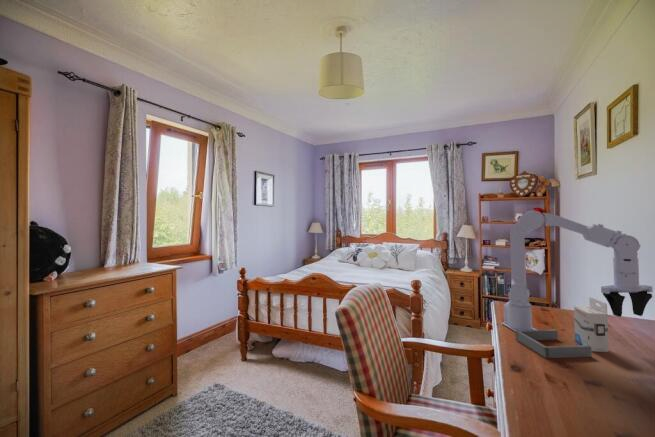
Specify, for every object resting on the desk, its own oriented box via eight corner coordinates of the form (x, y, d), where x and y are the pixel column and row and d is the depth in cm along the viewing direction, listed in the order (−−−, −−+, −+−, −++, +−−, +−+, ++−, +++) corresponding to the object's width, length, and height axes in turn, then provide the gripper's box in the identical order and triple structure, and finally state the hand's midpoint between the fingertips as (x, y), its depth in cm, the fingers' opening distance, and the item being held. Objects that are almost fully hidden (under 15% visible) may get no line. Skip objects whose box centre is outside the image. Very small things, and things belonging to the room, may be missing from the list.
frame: (515, 339, 103) (515, 330, 103) (555, 338, 103) (555, 329, 103) (545, 358, 89) (545, 347, 89) (591, 356, 89) (591, 346, 89)
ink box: (574, 340, 101) (572, 296, 101) (591, 341, 100) (589, 296, 100) (590, 351, 92) (589, 303, 92) (609, 352, 91) (607, 303, 91)
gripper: (615, 275, 92) (616, 320, 92) (662, 273, 92) (664, 318, 92) (594, 271, 99) (596, 313, 99) (638, 270, 99) (640, 311, 99)
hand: (627, 315), depth 96 cm, fingers open, 6 cm apart
